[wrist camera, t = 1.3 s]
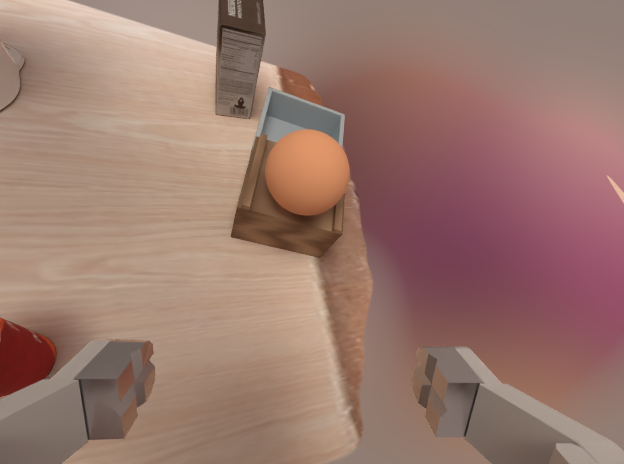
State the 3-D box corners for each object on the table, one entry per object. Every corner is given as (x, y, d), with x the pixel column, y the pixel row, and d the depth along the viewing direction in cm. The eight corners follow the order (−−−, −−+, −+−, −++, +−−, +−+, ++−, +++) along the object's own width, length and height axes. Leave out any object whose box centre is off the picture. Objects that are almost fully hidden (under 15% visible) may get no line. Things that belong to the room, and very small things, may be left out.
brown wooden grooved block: (230, 236, 43) (237, 203, 35) (247, 173, 49) (257, 132, 40) (319, 257, 46) (344, 231, 38) (325, 196, 52) (348, 161, 44)
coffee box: (214, 79, 55) (218, -18, 42) (248, 85, 58) (262, -5, 44) (214, 115, 52) (219, 22, 38) (251, 120, 54) (267, 34, 40)
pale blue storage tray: (247, 171, 49) (252, 148, 44) (262, 113, 56) (268, 86, 51) (326, 194, 52) (340, 175, 47) (332, 137, 59) (344, 114, 54)
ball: (242, 197, 36) (254, 142, 28) (285, 153, 42) (307, 95, 33) (307, 244, 36) (339, 204, 28) (342, 194, 42) (378, 147, 33)
